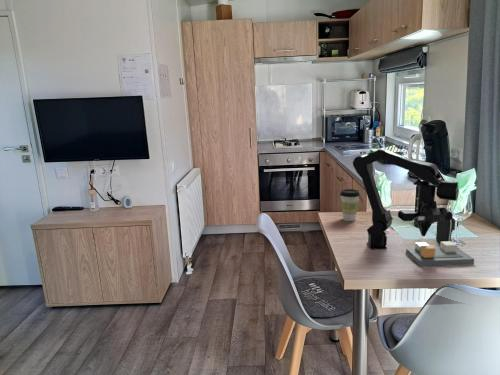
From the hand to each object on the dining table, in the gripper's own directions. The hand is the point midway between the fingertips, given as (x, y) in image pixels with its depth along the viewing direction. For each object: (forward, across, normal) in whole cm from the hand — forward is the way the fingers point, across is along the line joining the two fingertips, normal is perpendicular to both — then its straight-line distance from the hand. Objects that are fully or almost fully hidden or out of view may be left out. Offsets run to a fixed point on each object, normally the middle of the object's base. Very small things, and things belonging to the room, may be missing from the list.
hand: (423, 236), depth 145 cm
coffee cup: (+9, -15, +48) cm, 51 cm away
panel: (+8, +5, -3) cm, 10 cm away
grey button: (+7, 0, 0) cm, 7 cm away
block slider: (+6, -1, -6) cm, 8 cm away
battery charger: (+8, +16, +13) cm, 22 cm away
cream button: (+7, +10, 0) cm, 12 cm away
